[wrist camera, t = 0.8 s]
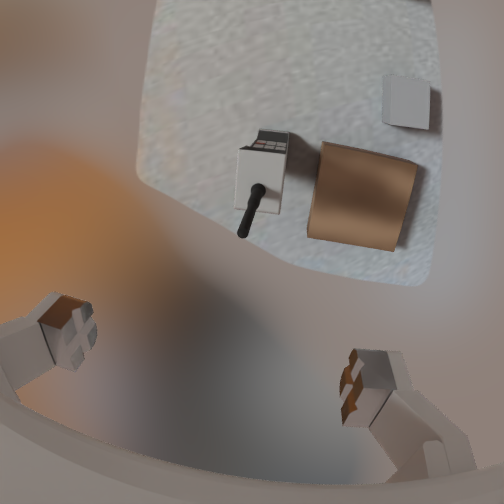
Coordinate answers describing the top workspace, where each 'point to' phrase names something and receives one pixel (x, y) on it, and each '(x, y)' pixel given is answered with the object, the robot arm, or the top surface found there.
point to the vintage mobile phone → (260, 176)
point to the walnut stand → (360, 197)
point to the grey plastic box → (406, 101)
